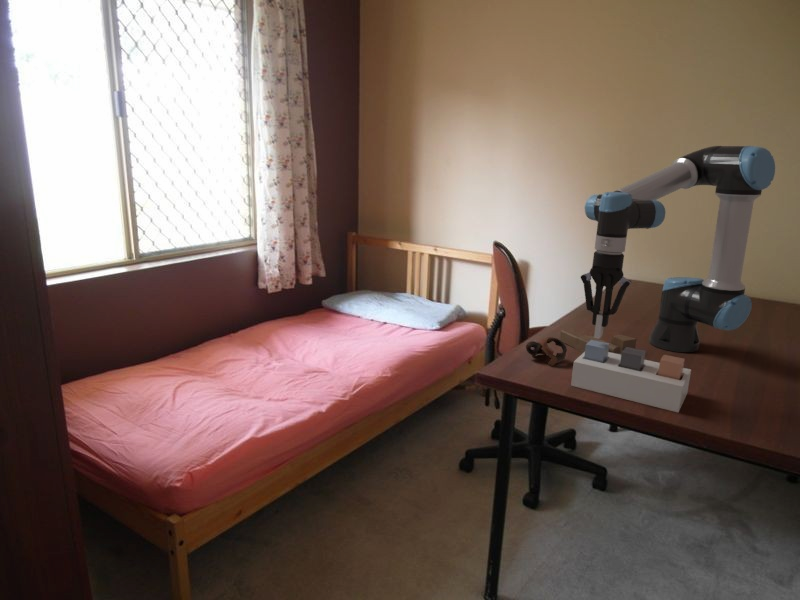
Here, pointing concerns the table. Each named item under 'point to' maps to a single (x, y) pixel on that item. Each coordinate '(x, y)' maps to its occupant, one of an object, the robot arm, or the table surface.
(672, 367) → the terracotta key
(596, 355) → the slate key
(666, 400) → the key console
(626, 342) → the wooden block set
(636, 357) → the charcoal key
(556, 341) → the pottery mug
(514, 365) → the table surface
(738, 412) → the table surface
